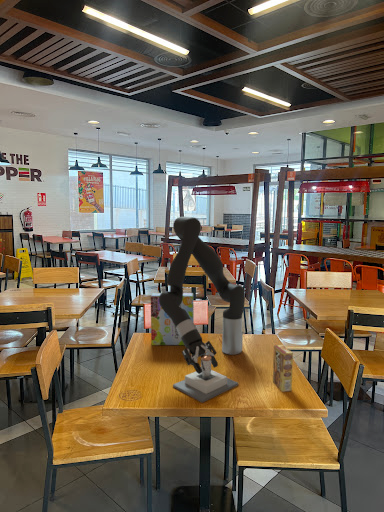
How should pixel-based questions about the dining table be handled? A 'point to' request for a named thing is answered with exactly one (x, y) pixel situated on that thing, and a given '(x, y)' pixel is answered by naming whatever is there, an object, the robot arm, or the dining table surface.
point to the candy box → (282, 368)
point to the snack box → (167, 321)
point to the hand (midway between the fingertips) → (208, 369)
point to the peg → (206, 367)
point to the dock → (201, 395)
